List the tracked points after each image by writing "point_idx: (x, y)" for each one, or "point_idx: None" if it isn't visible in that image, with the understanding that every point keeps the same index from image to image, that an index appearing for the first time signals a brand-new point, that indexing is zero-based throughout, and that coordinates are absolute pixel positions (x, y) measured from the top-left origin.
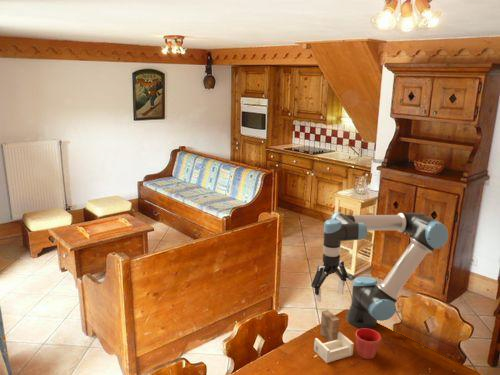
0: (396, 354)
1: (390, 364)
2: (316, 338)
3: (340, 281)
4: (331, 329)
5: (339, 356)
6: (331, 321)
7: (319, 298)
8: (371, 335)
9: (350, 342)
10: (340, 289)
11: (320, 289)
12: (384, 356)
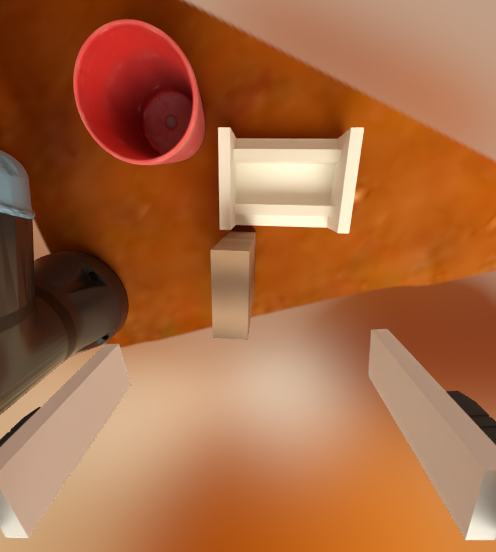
0: (67, 69)
1: None
2: (341, 230)
3: (28, 489)
4: (252, 247)
5: (285, 142)
6: (249, 261)
7: (407, 351)
8: (111, 131)
9: (226, 141)
10: (101, 388)
11: (488, 454)
12: None
